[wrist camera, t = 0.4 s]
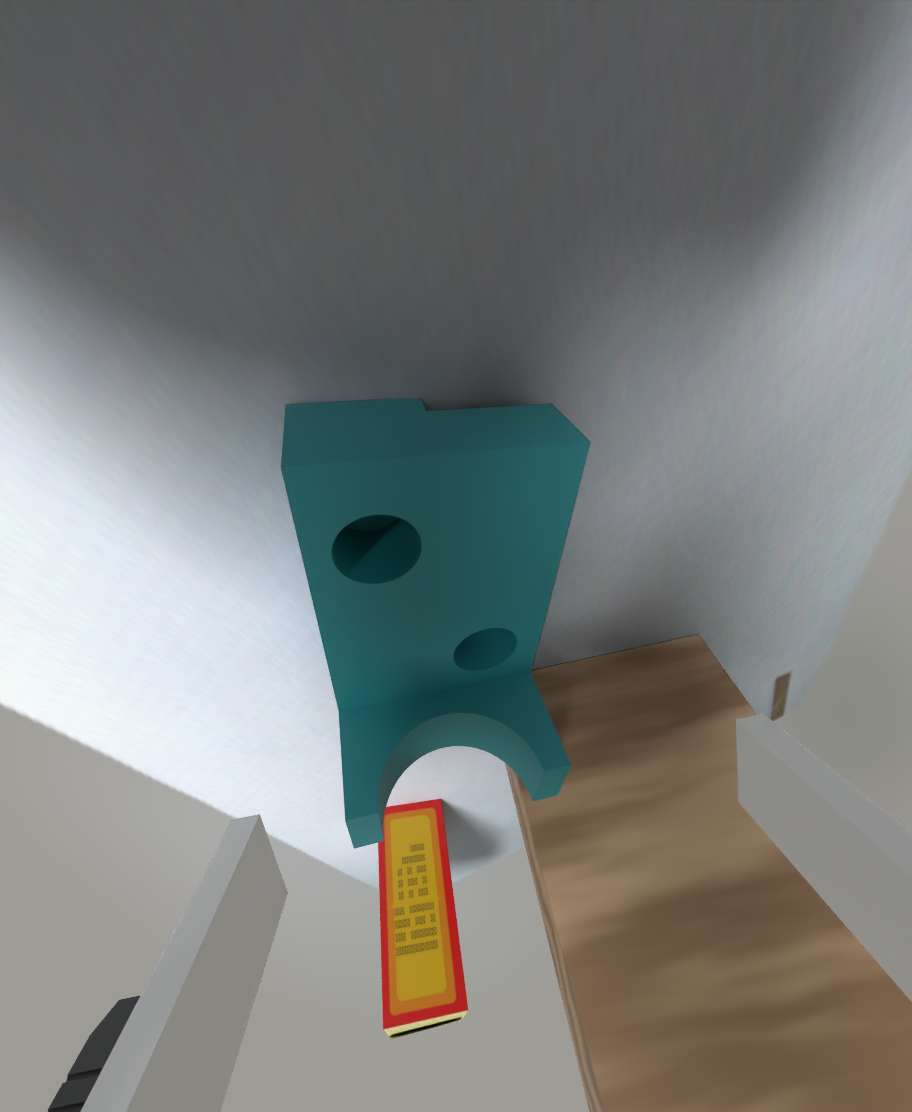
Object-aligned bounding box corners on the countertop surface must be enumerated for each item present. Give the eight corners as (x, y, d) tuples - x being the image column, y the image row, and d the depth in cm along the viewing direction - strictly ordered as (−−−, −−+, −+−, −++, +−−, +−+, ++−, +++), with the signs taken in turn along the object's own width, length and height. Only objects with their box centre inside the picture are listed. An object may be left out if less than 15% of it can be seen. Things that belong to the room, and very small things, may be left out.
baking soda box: (377, 808, 46) (383, 1036, 34) (441, 798, 47) (468, 1016, 35) (382, 840, 52) (389, 1043, 40) (439, 831, 53) (462, 1026, 41)
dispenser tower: (464, 677, 33) (689, 1773, 10) (714, 623, 33) (1430, 1547, 11) (481, 760, 42) (620, 1433, 20) (677, 716, 43) (1024, 1321, 20)
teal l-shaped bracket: (497, 644, 32) (557, 795, 24) (341, 671, 30) (354, 848, 22) (538, 391, 20) (680, 529, 13) (285, 404, 18) (271, 584, 10)
